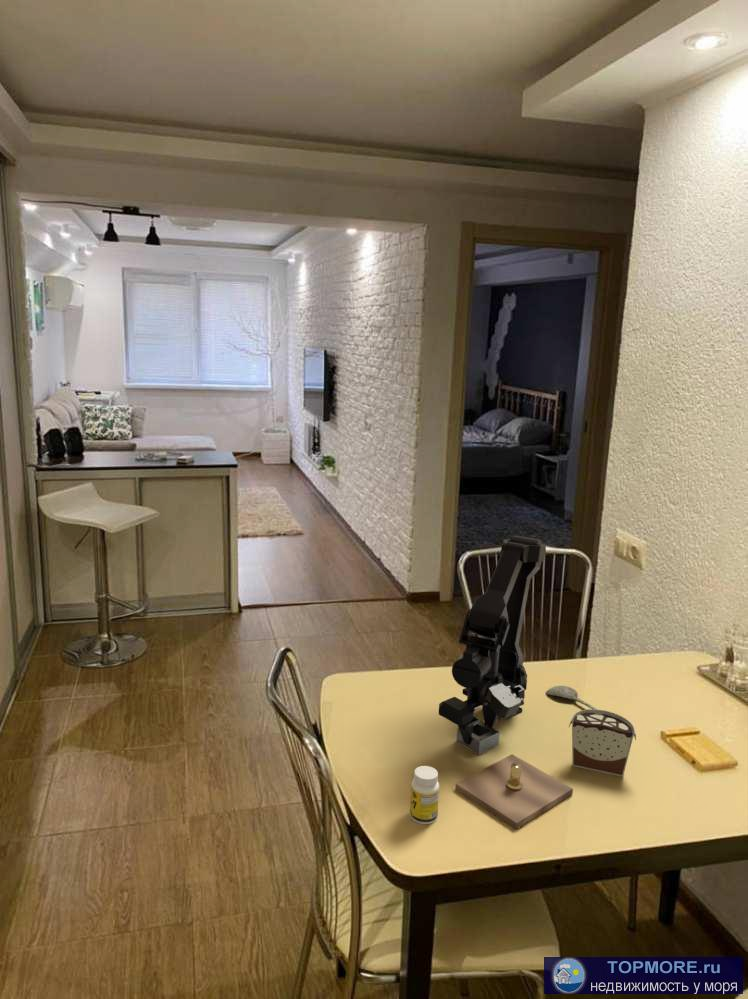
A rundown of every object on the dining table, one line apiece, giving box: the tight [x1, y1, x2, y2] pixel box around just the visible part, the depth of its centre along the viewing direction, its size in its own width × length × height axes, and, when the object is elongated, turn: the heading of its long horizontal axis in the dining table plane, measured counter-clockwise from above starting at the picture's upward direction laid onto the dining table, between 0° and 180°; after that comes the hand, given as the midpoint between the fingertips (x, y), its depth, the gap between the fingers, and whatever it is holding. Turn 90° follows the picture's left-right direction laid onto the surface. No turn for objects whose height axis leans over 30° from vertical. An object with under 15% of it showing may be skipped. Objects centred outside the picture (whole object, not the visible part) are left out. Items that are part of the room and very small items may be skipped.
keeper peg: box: [507, 763, 522, 791], centre depth 131 cm, size 3×3×4 cm
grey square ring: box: [456, 719, 500, 756], centre depth 147 cm, size 6×6×3 cm
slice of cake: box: [568, 708, 637, 777], centre depth 141 cm, size 12×6×10 cm, turn 71°
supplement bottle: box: [409, 765, 440, 825], centre depth 123 cm, size 5×5×8 cm
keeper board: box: [455, 753, 574, 830], centre depth 132 cm, size 16×14×1 cm
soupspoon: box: [545, 685, 599, 710], centre depth 163 cm, size 22×3×7 cm
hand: (477, 738), depth 147 cm, fingers closed on grey square ring, 6 cm apart
